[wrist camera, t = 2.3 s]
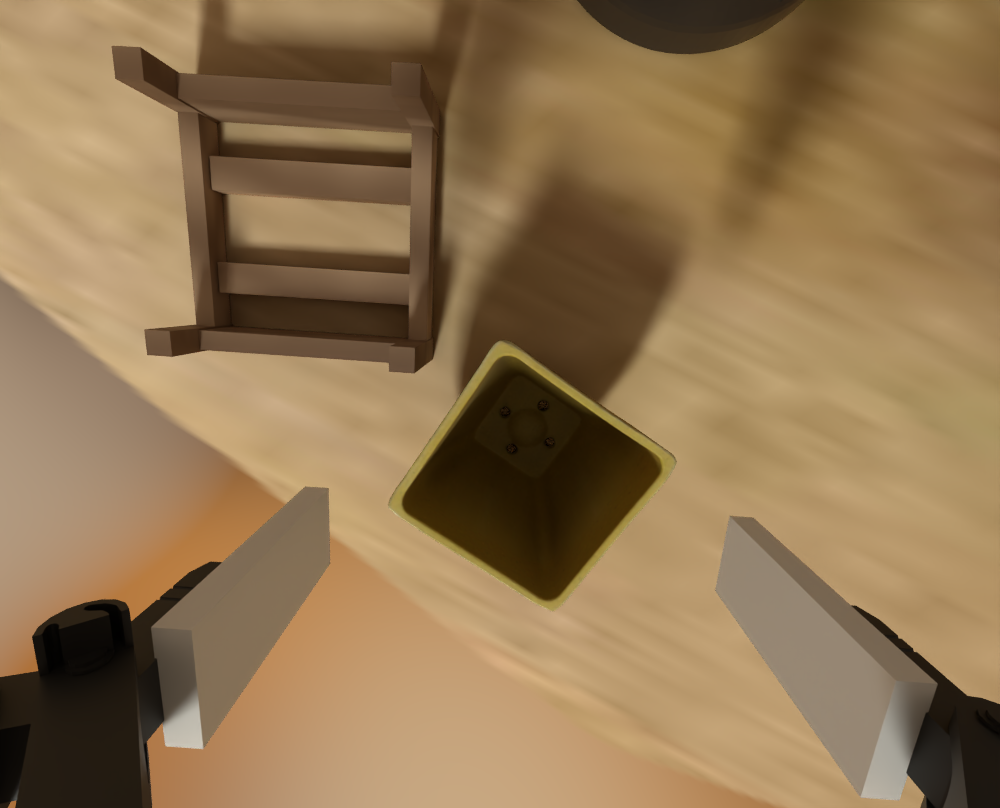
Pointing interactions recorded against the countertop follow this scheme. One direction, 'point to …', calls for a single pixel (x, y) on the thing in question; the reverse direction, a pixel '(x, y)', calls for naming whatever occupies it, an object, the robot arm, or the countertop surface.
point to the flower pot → (530, 478)
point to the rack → (212, 175)
